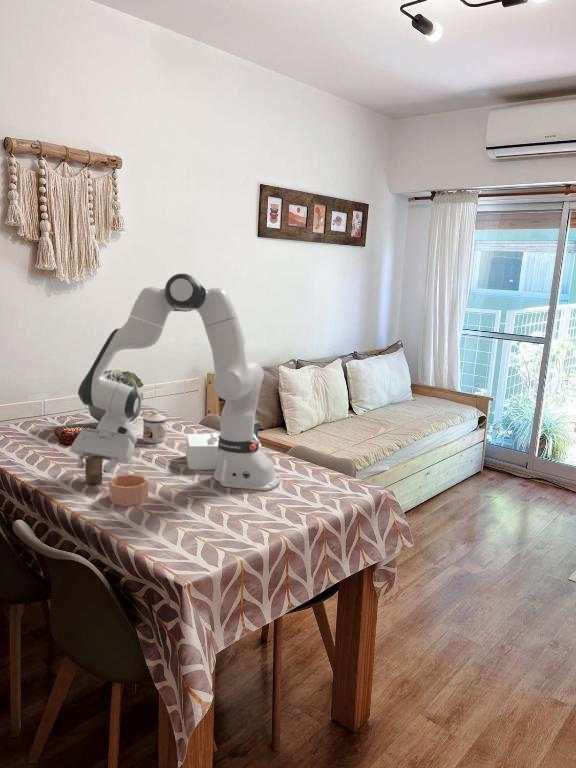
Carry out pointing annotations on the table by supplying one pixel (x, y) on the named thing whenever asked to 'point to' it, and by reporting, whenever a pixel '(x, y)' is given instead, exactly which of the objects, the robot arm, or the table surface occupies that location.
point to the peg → (93, 470)
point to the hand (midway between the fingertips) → (92, 469)
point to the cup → (128, 490)
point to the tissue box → (203, 450)
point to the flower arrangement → (122, 378)
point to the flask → (256, 428)
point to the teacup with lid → (154, 428)
